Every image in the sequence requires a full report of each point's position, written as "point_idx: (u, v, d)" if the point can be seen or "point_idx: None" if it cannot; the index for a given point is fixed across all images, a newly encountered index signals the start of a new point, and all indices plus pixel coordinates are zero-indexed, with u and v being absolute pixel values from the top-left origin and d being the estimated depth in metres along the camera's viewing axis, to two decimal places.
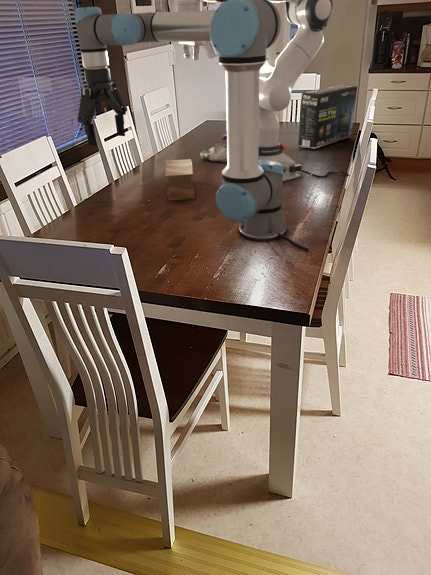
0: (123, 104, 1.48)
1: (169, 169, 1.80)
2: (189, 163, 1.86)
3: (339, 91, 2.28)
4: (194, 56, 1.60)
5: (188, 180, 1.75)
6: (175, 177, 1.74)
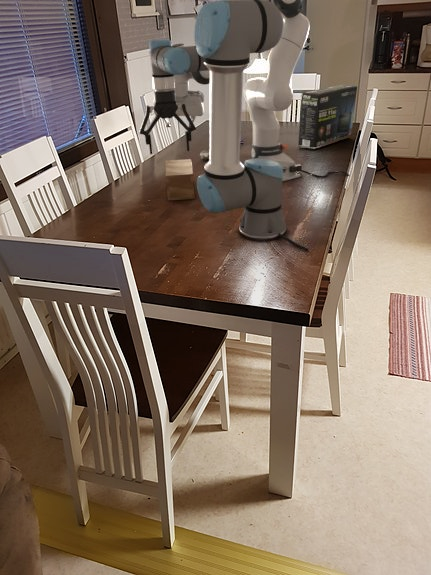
0: (191, 123, 1.65)
1: (169, 169, 1.80)
2: (189, 163, 1.86)
3: (339, 91, 2.28)
4: None
5: (188, 180, 1.75)
6: (175, 177, 1.74)
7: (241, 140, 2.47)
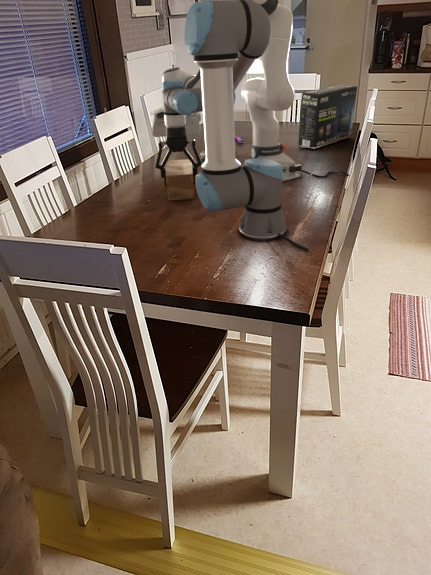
0: (198, 159, 1.73)
1: (169, 169, 1.80)
2: (189, 163, 1.86)
3: (339, 91, 2.28)
4: None
5: (188, 180, 1.75)
6: (175, 177, 1.74)
7: (241, 140, 2.47)
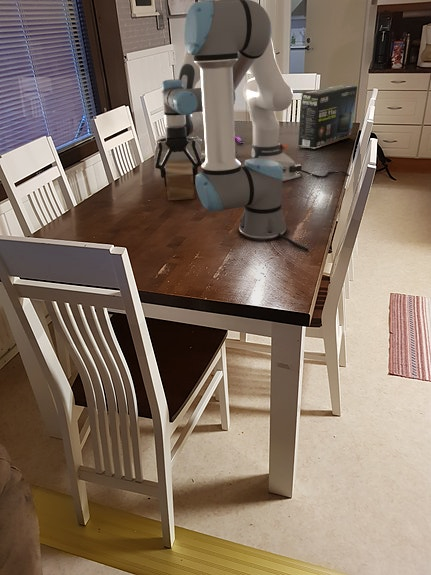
0: (198, 159, 1.73)
1: (169, 169, 1.80)
2: (189, 163, 1.86)
3: (339, 91, 2.28)
4: None
5: (188, 180, 1.75)
6: (175, 177, 1.74)
7: (241, 140, 2.47)
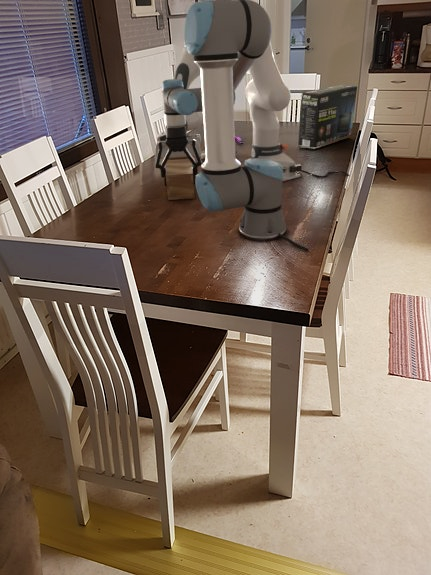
0: (198, 159, 1.74)
1: (169, 169, 1.80)
2: (189, 163, 1.86)
3: (339, 91, 2.28)
4: None
5: (188, 179, 1.75)
6: (175, 176, 1.74)
7: (241, 140, 2.47)
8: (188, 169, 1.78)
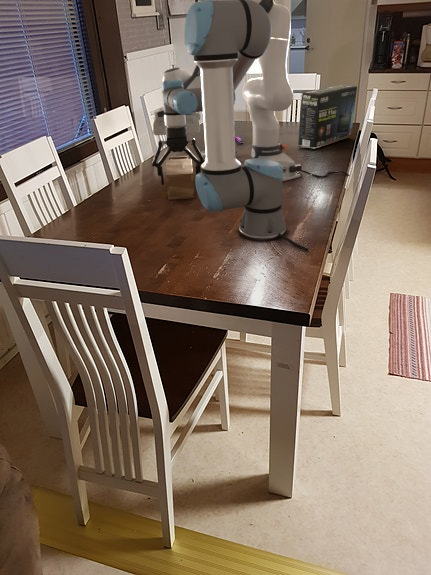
0: (200, 157, 1.73)
1: (169, 168, 1.81)
2: (189, 162, 1.87)
3: (339, 91, 2.28)
4: None
5: (188, 179, 1.76)
6: (175, 176, 1.75)
7: (241, 140, 2.47)
8: (188, 169, 1.79)
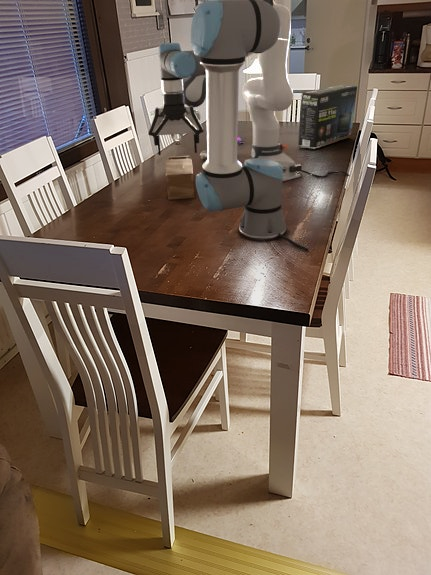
0: (199, 126, 1.67)
1: (169, 168, 1.81)
2: (189, 162, 1.87)
3: (339, 91, 2.28)
4: (180, 141, 1.97)
5: (188, 179, 1.76)
6: (175, 176, 1.75)
7: (241, 140, 2.47)
8: (188, 169, 1.79)
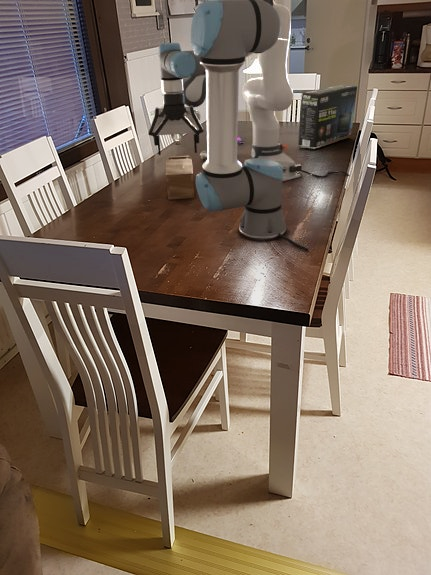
0: (199, 126, 1.67)
1: (169, 168, 1.81)
2: (189, 162, 1.87)
3: (339, 91, 2.28)
4: (180, 141, 1.97)
5: (188, 179, 1.76)
6: (175, 176, 1.75)
7: (241, 140, 2.47)
8: (188, 169, 1.79)
